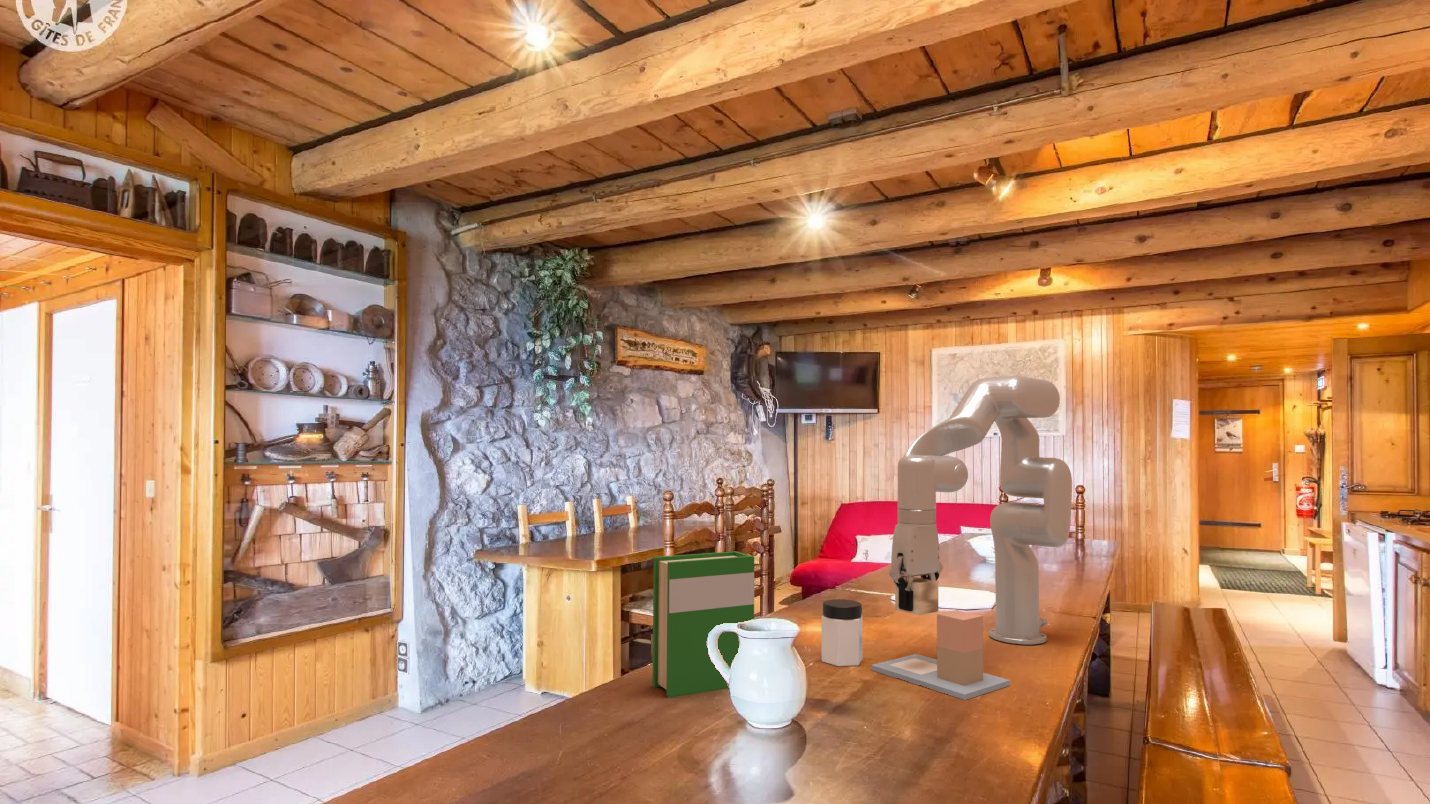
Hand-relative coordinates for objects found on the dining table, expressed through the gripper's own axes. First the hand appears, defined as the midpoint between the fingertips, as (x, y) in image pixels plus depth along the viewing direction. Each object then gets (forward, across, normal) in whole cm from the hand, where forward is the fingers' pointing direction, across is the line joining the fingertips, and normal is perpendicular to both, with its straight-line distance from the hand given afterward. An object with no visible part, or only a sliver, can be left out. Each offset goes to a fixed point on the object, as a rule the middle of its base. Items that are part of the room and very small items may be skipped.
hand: (916, 607), depth 155 cm
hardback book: (+13, +40, -18) cm, 46 cm away
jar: (+13, +7, -14) cm, 20 cm away
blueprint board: (+13, 0, +5) cm, 14 cm away
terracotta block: (+6, 0, +10) cm, 12 cm away
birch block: (+1, 0, 0) cm, 1 cm away
